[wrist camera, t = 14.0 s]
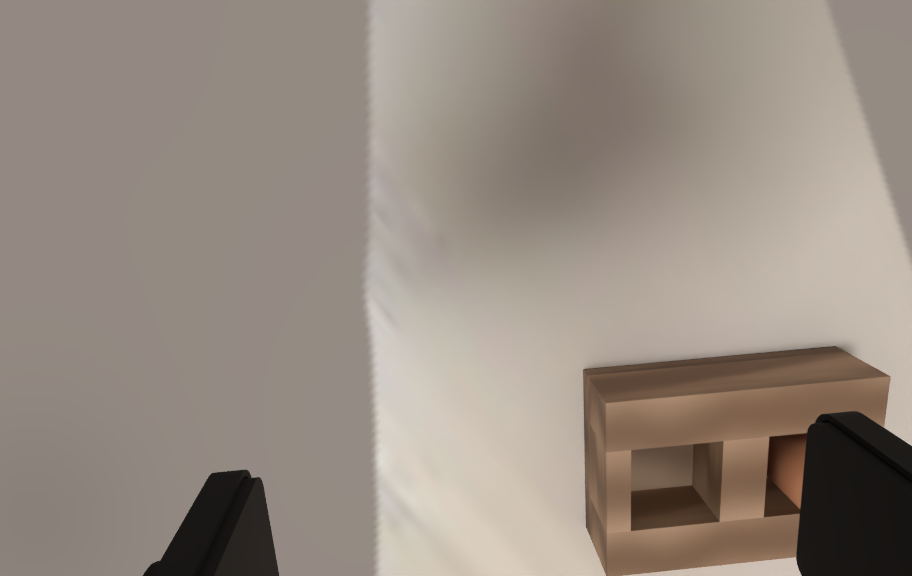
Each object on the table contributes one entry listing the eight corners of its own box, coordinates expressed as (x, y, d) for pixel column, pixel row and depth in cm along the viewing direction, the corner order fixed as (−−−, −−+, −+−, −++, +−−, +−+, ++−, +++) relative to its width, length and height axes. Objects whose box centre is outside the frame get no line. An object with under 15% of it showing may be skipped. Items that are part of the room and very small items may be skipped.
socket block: (583, 369, 41) (605, 403, 36) (835, 346, 41) (890, 376, 37) (586, 526, 44) (607, 576, 39) (819, 502, 45) (868, 549, 40)
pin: (745, 417, 41) (875, 532, 30) (804, 410, 41) (955, 522, 30) (743, 470, 42) (868, 601, 31) (801, 463, 43) (945, 591, 31)
